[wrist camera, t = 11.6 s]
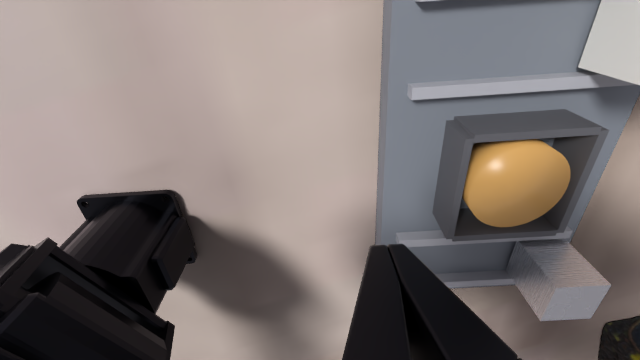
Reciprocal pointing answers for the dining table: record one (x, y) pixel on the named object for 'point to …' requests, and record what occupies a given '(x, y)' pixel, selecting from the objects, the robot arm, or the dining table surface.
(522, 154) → the button amber
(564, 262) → the grey metal block
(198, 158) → the dining table surface
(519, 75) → the control panel
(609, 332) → the black and yellow box
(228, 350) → the dining table surface
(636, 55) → the lever ivory
